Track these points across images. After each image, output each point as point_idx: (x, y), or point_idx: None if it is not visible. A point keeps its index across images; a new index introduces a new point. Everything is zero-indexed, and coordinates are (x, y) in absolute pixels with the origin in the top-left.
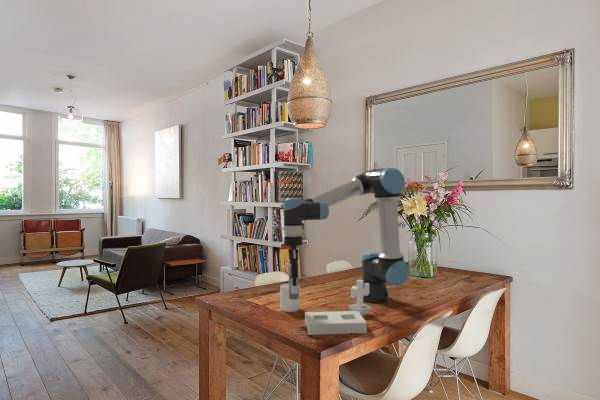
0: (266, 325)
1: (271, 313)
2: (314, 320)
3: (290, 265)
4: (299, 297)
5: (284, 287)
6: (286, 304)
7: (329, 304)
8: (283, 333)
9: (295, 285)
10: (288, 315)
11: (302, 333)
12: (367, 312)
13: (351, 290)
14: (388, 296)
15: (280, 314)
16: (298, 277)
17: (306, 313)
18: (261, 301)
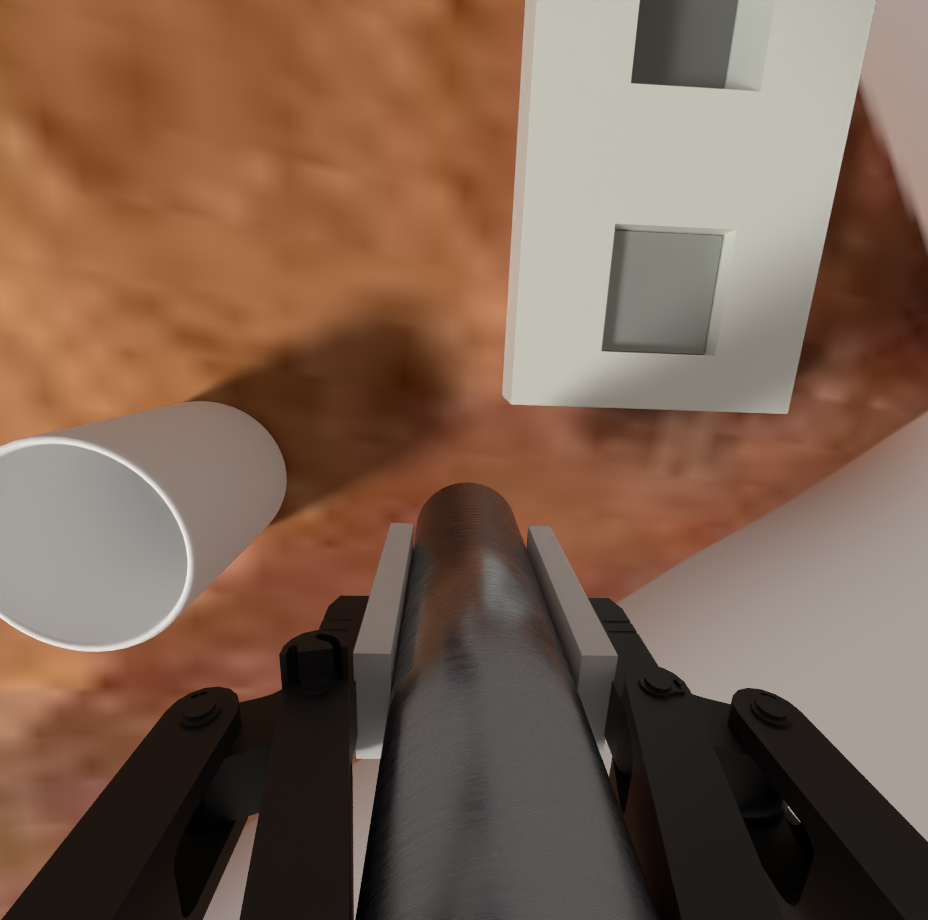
0: None
1: (311, 599)
2: (723, 360)
3: None
4: (159, 413)
5: (32, 586)
6: (264, 523)
7: (49, 83)
8: (679, 549)
9: (612, 613)
10: (358, 493)
11: (705, 440)
12: None
13: None
14: None
15: (334, 544)
16: (500, 613)
17: (547, 397)
18: (32, 656)
